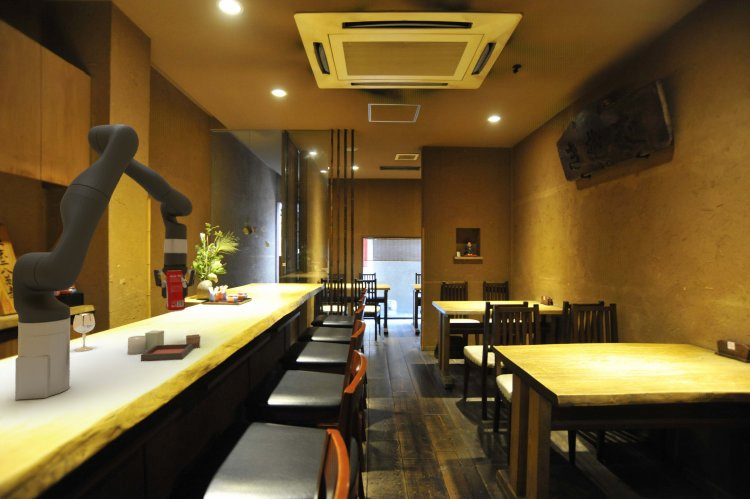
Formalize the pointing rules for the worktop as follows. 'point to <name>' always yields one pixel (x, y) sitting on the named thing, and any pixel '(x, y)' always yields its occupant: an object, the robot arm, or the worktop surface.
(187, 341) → the walnut block
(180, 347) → the lacquer tray
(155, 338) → the sage painted block
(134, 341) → the beige block
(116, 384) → the worktop surface
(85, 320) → the wineglass
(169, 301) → the beverage can
